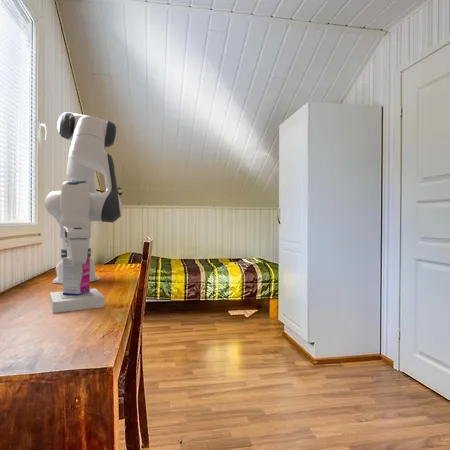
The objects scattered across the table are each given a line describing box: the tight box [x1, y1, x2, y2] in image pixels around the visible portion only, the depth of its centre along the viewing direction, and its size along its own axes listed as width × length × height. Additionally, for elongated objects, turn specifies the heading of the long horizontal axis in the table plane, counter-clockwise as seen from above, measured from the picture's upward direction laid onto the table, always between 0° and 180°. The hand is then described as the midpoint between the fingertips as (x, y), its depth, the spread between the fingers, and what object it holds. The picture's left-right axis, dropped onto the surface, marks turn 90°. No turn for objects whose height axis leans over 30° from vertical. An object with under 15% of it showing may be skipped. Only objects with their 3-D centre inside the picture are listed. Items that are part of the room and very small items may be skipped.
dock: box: [49, 288, 105, 314], centre depth 111 cm, size 17×14×3 cm
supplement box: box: [62, 257, 91, 296], centre depth 110 cm, size 6×6×12 cm
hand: (76, 276), depth 110 cm, fingers closed on supplement box, 8 cm apart
